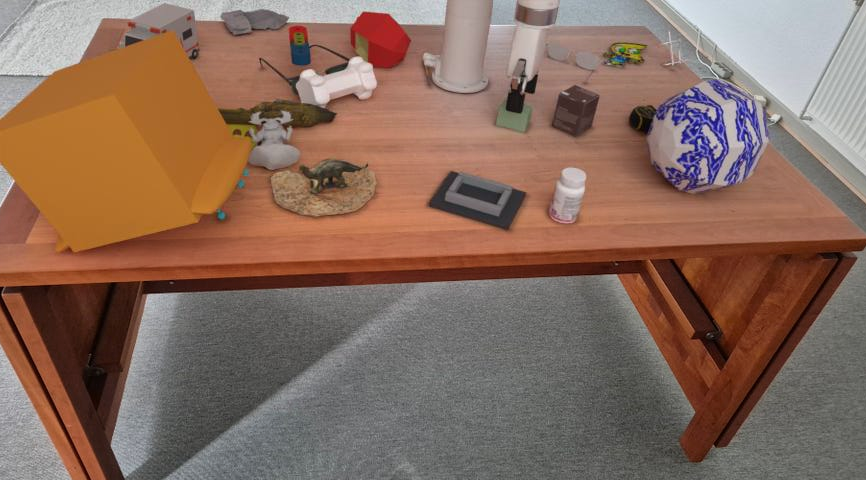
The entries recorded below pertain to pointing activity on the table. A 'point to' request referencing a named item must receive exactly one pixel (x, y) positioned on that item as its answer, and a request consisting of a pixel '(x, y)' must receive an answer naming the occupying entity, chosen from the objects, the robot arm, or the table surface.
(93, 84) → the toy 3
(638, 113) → the tape measure
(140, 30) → the toy vehicle
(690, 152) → the ornament
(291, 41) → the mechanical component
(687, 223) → the table surface
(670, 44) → the airplane model
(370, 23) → the red angular block
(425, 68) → the pen
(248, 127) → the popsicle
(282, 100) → the circuit board
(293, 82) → the sunglasses
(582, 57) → the eyeglasses
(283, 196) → the dinosaur figurine
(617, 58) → the toy
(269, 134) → the figurine
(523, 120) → the green rectangular block
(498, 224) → the base
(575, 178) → the pill bottle
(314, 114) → the olive long flat piece
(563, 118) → the box
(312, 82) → the dog bone
